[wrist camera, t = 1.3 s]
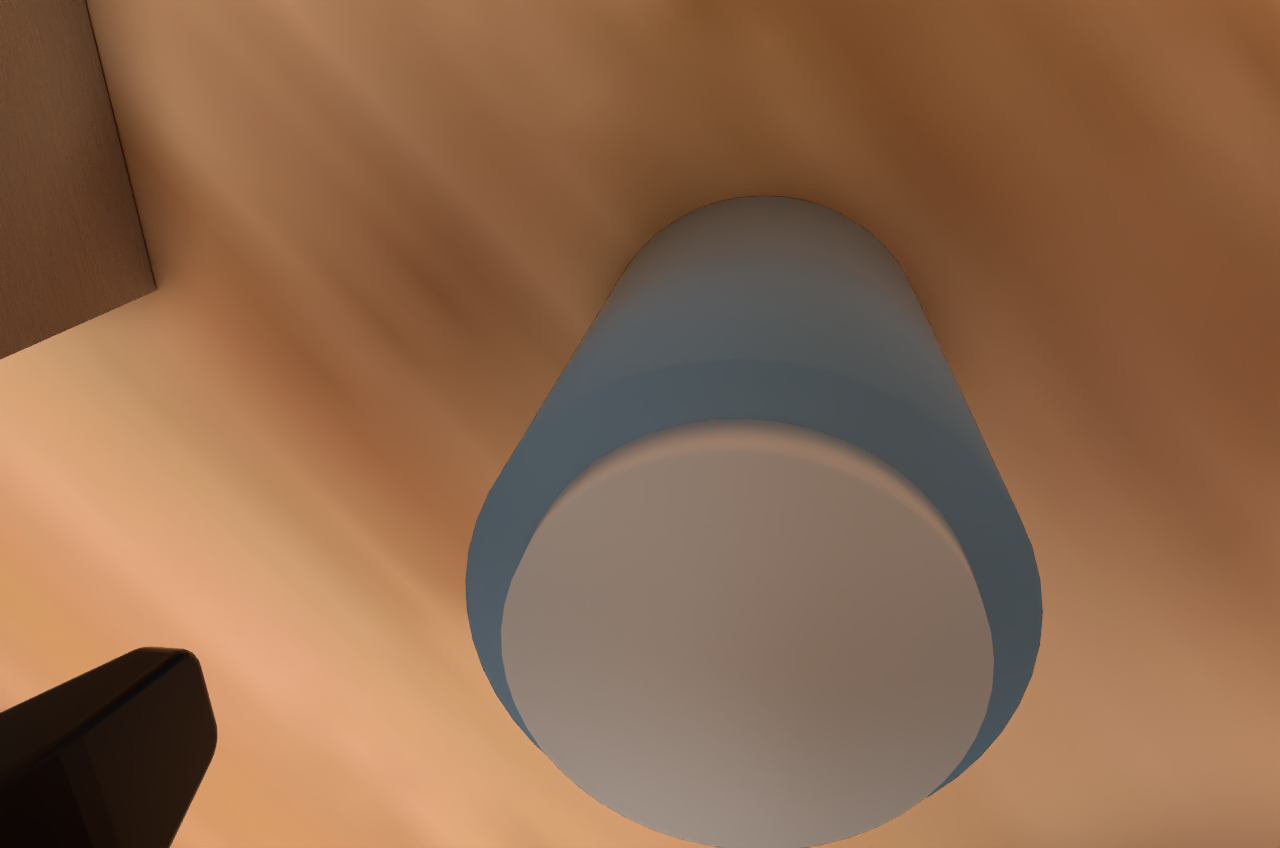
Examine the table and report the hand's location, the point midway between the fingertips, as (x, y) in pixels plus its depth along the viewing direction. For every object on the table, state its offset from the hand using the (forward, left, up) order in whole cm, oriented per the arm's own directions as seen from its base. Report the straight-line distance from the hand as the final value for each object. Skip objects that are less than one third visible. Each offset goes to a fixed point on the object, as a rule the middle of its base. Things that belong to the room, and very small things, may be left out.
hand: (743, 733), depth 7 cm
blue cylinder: (0, 0, -8) cm, 8 cm away
